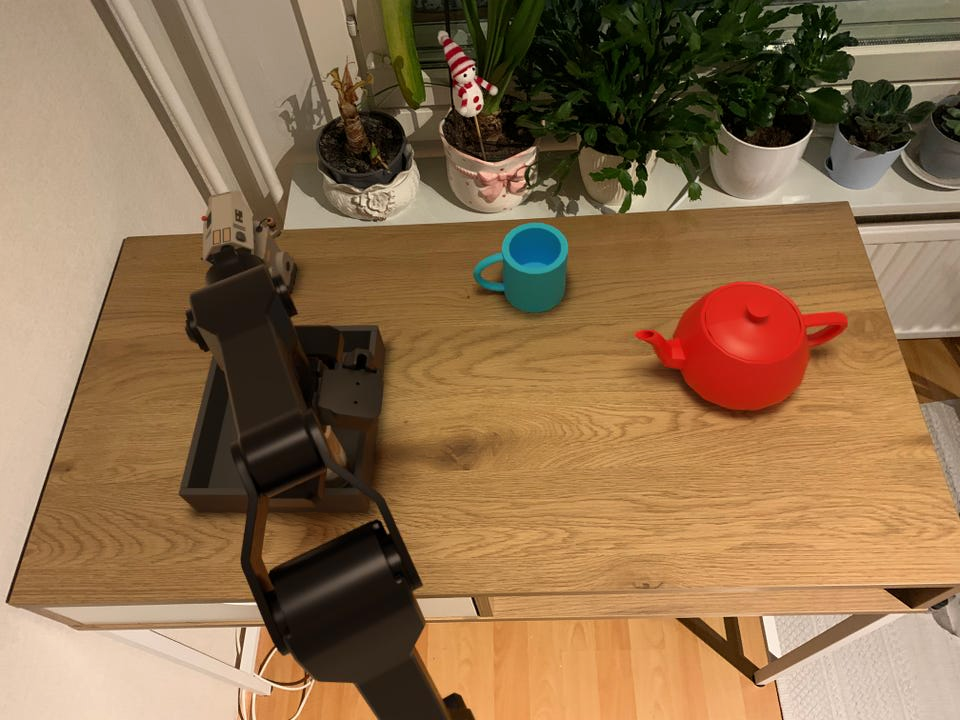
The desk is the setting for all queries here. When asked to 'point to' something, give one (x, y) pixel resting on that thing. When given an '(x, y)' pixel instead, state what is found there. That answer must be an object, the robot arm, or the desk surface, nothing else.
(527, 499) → the desk surface
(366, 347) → the dark grey tray
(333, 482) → the sprinkles bottle
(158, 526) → the desk surface
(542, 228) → the mug
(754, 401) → the teapot
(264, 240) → the figurine
